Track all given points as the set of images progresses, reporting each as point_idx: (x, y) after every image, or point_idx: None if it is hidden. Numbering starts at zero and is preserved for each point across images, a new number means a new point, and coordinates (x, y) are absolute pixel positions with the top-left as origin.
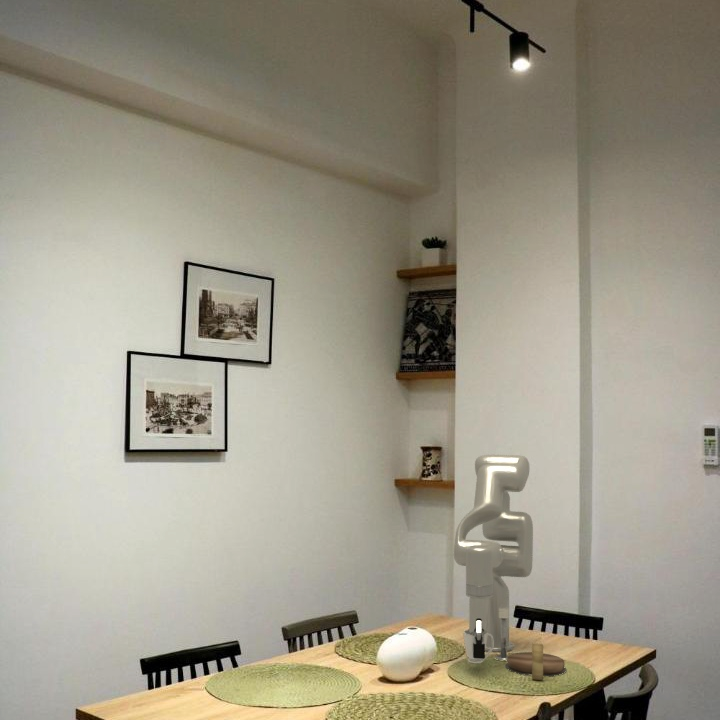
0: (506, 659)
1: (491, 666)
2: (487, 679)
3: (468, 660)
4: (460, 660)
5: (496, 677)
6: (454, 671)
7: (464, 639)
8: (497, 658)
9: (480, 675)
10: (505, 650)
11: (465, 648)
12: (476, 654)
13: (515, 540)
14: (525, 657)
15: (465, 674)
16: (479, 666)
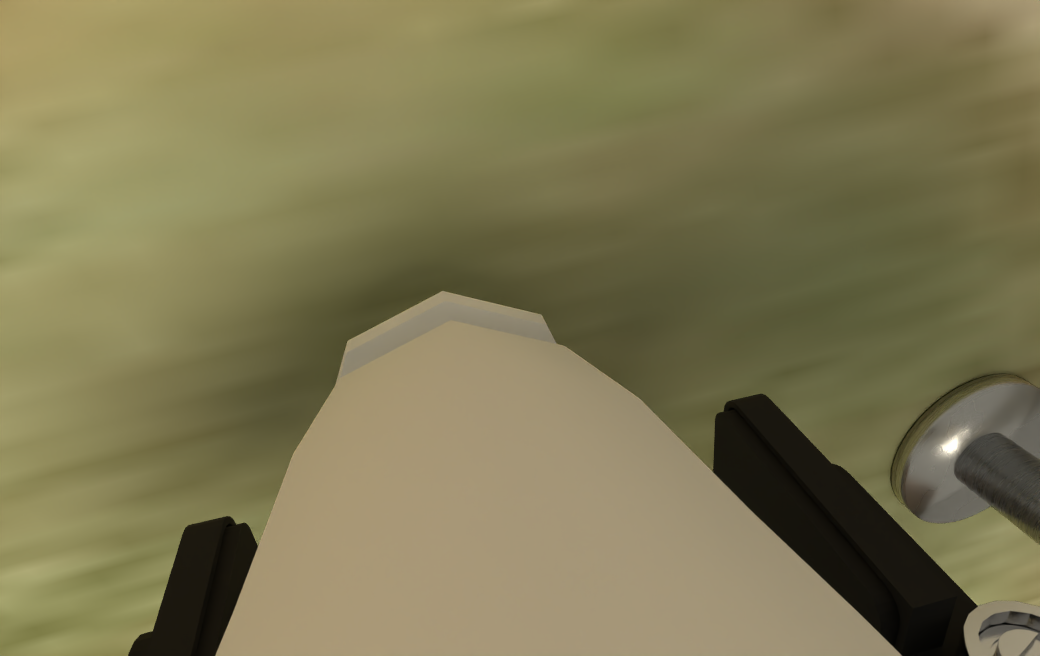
0: (905, 499)
1: (697, 426)
2: (106, 550)
3: (402, 317)
4: (916, 9)
5: None
6: (262, 43)
7: (456, 524)
8: (941, 422)
9: (249, 436)
10: (1020, 529)
11: (461, 364)
12: (134, 650)
13: None
14: None
15: (179, 254)
16: (667, 316)
